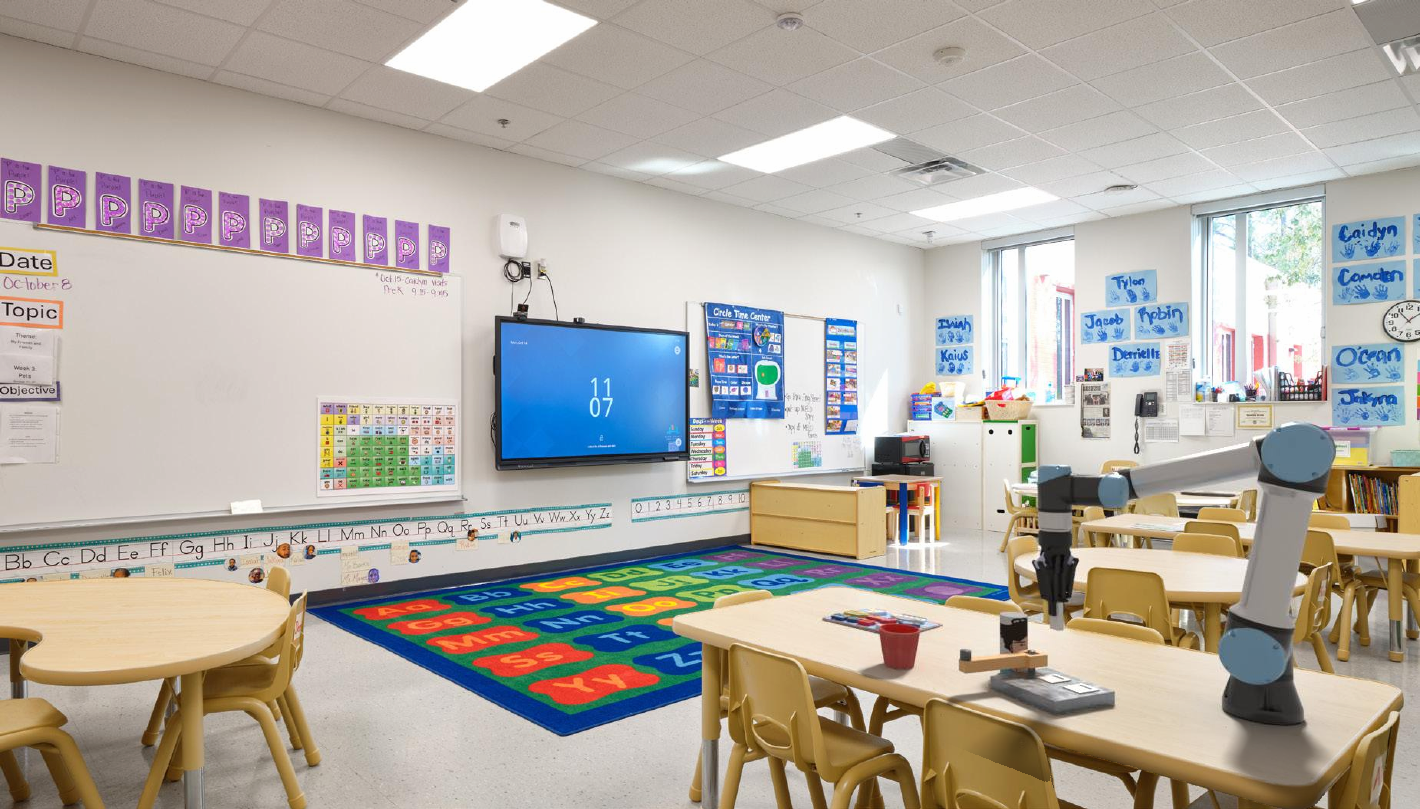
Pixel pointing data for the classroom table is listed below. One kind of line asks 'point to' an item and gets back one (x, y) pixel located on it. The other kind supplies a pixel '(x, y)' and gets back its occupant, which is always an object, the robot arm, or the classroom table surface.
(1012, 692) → the board
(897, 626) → the flower pot
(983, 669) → the bar
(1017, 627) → the printed cylinder
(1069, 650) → the classroom table surface
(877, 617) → the puzzle board
